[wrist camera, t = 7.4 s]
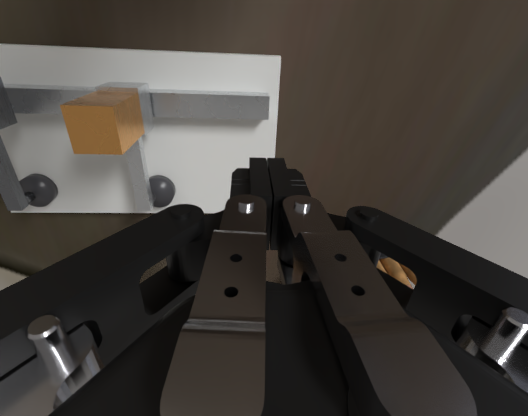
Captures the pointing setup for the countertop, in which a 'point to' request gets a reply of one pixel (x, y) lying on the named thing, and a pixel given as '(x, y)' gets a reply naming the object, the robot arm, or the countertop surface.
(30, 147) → the hole plate
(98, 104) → the block
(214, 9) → the countertop surface
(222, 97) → the rail and fixed leg
